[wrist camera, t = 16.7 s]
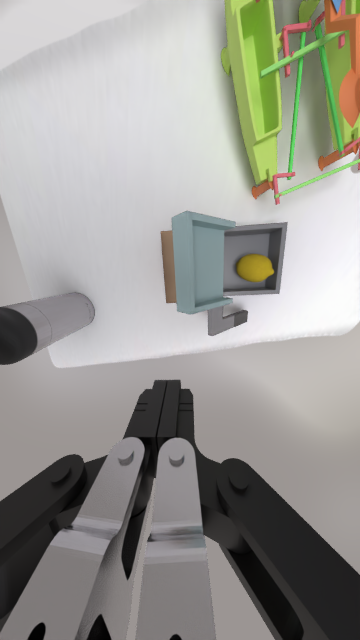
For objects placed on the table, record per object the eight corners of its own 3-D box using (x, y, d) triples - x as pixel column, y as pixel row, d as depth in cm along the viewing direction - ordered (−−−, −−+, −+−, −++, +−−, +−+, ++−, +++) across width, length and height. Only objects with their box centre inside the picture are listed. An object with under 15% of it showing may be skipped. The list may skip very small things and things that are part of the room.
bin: (212, 292, 41) (216, 296, 35) (212, 234, 37) (216, 227, 31) (266, 290, 40) (279, 293, 34) (272, 229, 36) (287, 222, 30)
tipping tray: (179, 346, 27) (192, 352, 25) (171, 217, 22) (186, 210, 19) (242, 320, 38) (255, 323, 36) (247, 231, 33) (262, 228, 31)
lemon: (279, 271, 35) (243, 263, 40) (282, 251, 31) (241, 245, 35) (266, 291, 34) (231, 281, 39) (267, 274, 30) (228, 264, 34)
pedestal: (171, 295, 42) (166, 303, 32) (168, 240, 38) (160, 231, 29) (210, 293, 41) (216, 300, 32) (210, 237, 37) (217, 227, 28)
